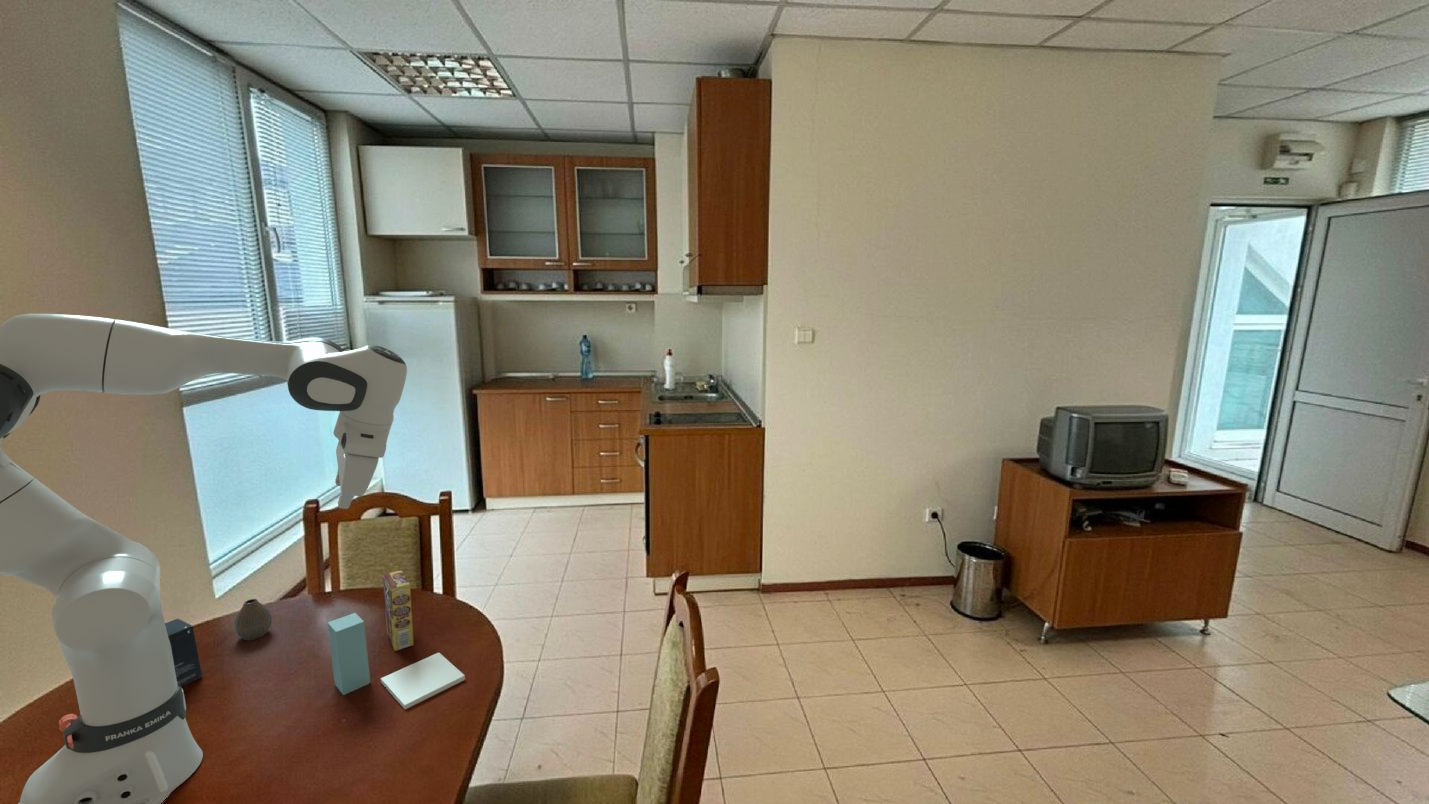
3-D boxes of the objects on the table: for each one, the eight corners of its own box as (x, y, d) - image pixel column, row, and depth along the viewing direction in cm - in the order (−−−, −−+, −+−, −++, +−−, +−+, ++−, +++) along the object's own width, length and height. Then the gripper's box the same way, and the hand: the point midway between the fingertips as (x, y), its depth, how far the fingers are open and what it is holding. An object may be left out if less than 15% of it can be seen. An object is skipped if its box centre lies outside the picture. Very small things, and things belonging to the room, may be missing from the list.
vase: (228, 641, 134) (223, 606, 132) (259, 625, 140) (255, 591, 139) (250, 646, 132) (245, 611, 130) (280, 630, 138) (276, 596, 137)
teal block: (343, 695, 116) (336, 631, 114) (334, 684, 120) (327, 622, 117) (370, 683, 120) (364, 621, 118) (361, 672, 123) (355, 612, 121)
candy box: (415, 645, 133) (410, 583, 131) (394, 652, 131) (389, 589, 128) (407, 628, 140) (401, 569, 137) (386, 634, 137) (381, 574, 135)
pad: (405, 709, 113) (404, 705, 112) (381, 682, 120) (380, 678, 120) (465, 679, 122) (464, 675, 121) (439, 656, 129) (438, 652, 129)
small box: (187, 667, 124) (179, 616, 122) (204, 677, 121) (195, 625, 119) (103, 705, 113) (92, 650, 110) (119, 717, 110) (108, 660, 108)
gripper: (340, 407, 116) (320, 470, 117) (346, 448, 100) (324, 519, 102) (375, 414, 120) (355, 474, 121) (387, 453, 104) (364, 522, 106)
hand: (341, 495), depth 111 cm, fingers open, 8 cm apart
